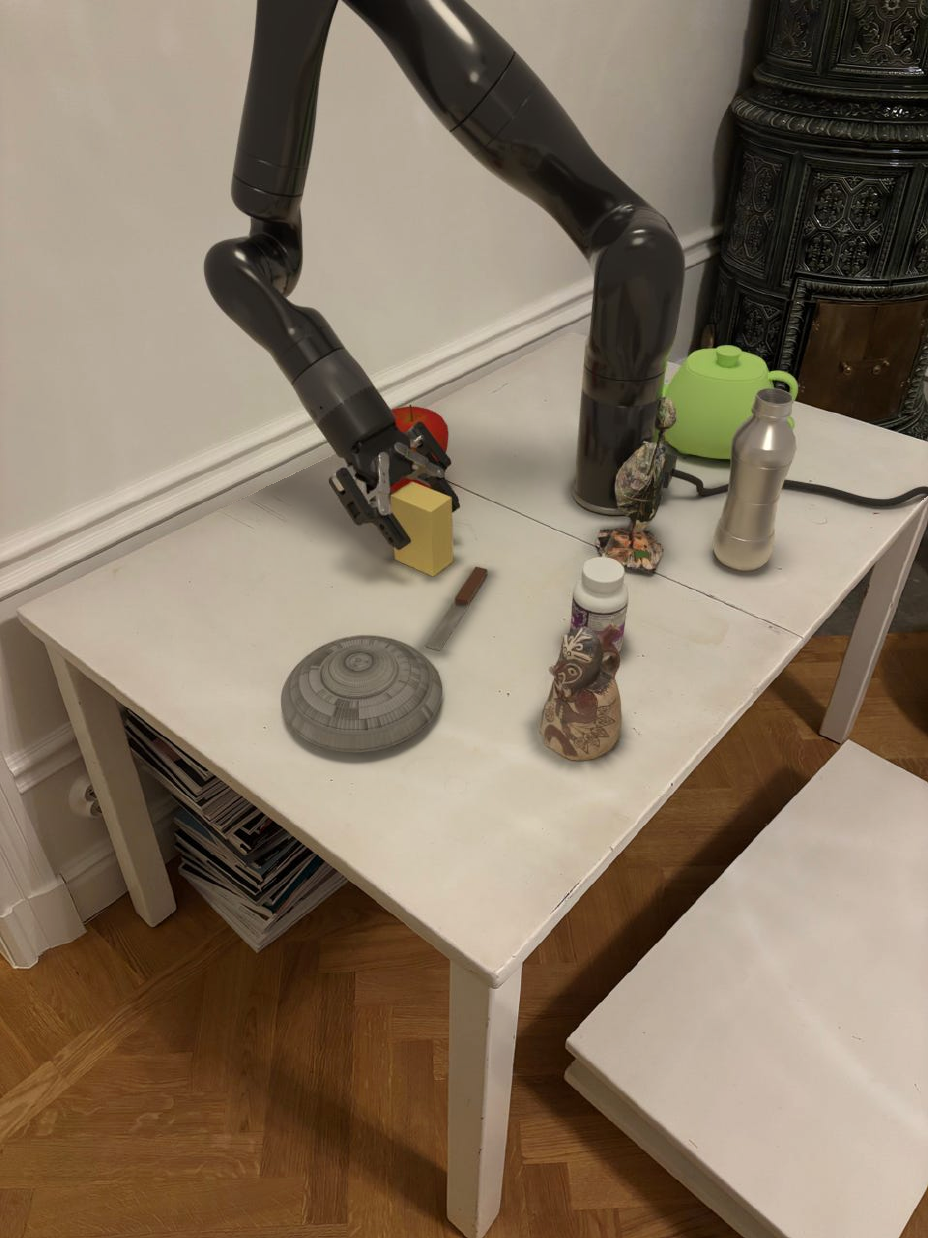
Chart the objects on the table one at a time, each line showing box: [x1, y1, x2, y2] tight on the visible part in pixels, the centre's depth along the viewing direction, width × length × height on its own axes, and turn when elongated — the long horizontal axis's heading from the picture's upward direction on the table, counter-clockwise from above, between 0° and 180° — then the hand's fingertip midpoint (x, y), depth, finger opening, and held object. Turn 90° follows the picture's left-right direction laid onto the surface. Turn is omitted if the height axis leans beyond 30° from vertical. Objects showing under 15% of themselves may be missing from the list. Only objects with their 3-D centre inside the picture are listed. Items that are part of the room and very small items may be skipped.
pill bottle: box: [569, 556, 630, 661], centre depth 92 cm, size 5×5×10 cm
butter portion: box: [390, 481, 454, 577], centre depth 103 cm, size 4×6×8 cm, turn 53°
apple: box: [390, 404, 450, 493], centre depth 114 cm, size 9×8×12 cm
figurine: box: [539, 623, 623, 761], centre depth 82 cm, size 7×7×12 cm
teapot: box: [662, 344, 799, 461], centre depth 123 cm, size 22×15×13 cm
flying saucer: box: [280, 634, 443, 753], centre depth 87 cm, size 15×15×6 cm
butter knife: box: [425, 566, 488, 651], centre depth 99 cm, size 14×2×1 cm, turn 158°
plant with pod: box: [595, 396, 677, 574], centre depth 101 cm, size 8×11×20 cm
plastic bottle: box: [712, 387, 797, 572], centre depth 99 cm, size 6×7×20 cm
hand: (430, 528), depth 102 cm, fingers open, 8 cm apart
